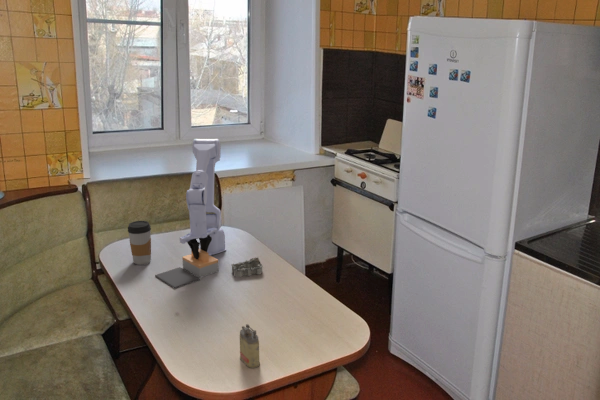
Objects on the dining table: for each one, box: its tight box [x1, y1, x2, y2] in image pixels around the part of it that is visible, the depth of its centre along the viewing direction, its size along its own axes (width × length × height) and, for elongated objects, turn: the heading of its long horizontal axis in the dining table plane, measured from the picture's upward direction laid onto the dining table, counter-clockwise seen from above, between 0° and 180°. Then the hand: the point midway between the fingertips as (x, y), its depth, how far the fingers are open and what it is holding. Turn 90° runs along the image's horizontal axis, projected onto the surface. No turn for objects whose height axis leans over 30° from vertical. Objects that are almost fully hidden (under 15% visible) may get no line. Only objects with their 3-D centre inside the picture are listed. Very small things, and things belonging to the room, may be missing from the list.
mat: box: [154, 266, 201, 289], centre depth 200 cm, size 10×13×1 cm
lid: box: [182, 247, 219, 269], centre depth 206 cm, size 8×11×5 cm
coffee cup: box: [127, 220, 152, 266], centre depth 212 cm, size 8×8×15 cm
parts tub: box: [182, 259, 220, 279], centre depth 207 cm, size 8×11×4 cm
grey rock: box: [230, 256, 264, 278], centre depth 205 cm, size 11×8×4 cm
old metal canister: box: [239, 323, 261, 369], centre depth 150 cm, size 7×4×10 cm, turn 34°
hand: (200, 256), depth 206 cm, fingers open, 3 cm apart
